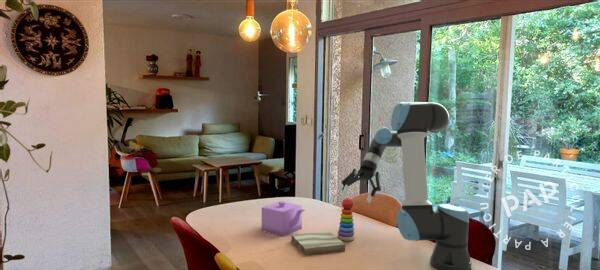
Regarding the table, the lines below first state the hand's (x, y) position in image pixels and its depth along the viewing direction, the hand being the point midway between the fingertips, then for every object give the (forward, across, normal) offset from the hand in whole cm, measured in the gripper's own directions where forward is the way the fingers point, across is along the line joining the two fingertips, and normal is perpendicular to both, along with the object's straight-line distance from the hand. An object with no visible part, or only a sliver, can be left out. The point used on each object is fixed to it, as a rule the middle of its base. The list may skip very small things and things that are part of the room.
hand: (354, 199), depth 202 cm
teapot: (+24, +30, 0) cm, 38 cm away
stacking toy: (+18, -1, -6) cm, 19 cm away
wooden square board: (+29, +5, +6) cm, 30 cm away
